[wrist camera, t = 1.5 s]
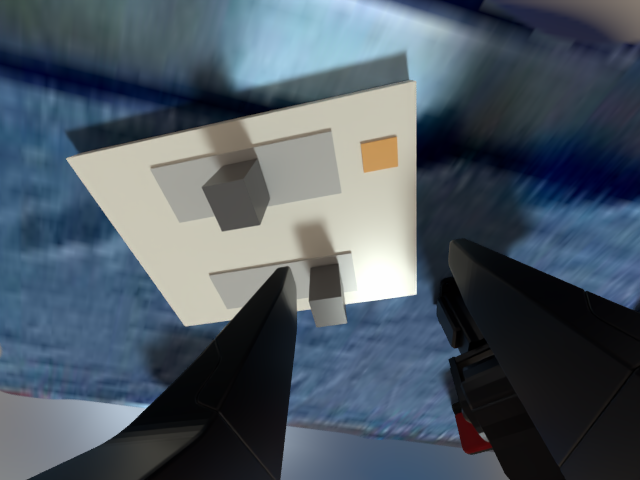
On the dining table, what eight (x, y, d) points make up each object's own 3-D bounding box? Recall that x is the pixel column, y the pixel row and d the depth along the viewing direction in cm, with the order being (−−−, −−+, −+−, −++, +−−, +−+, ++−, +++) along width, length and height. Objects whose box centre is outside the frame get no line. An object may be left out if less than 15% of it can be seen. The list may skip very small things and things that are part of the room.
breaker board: (409, 80, 17) (417, 81, 16) (412, 283, 27) (417, 296, 25) (81, 152, 20) (63, 159, 18) (190, 315, 29) (184, 328, 28)
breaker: (338, 263, 23) (341, 296, 20) (343, 288, 25) (347, 323, 21) (310, 267, 23) (308, 301, 20) (317, 292, 25) (316, 327, 22)
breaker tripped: (257, 158, 18) (243, 179, 15) (270, 198, 20) (260, 225, 16) (222, 165, 18) (201, 187, 15) (238, 204, 20) (221, 231, 17)
